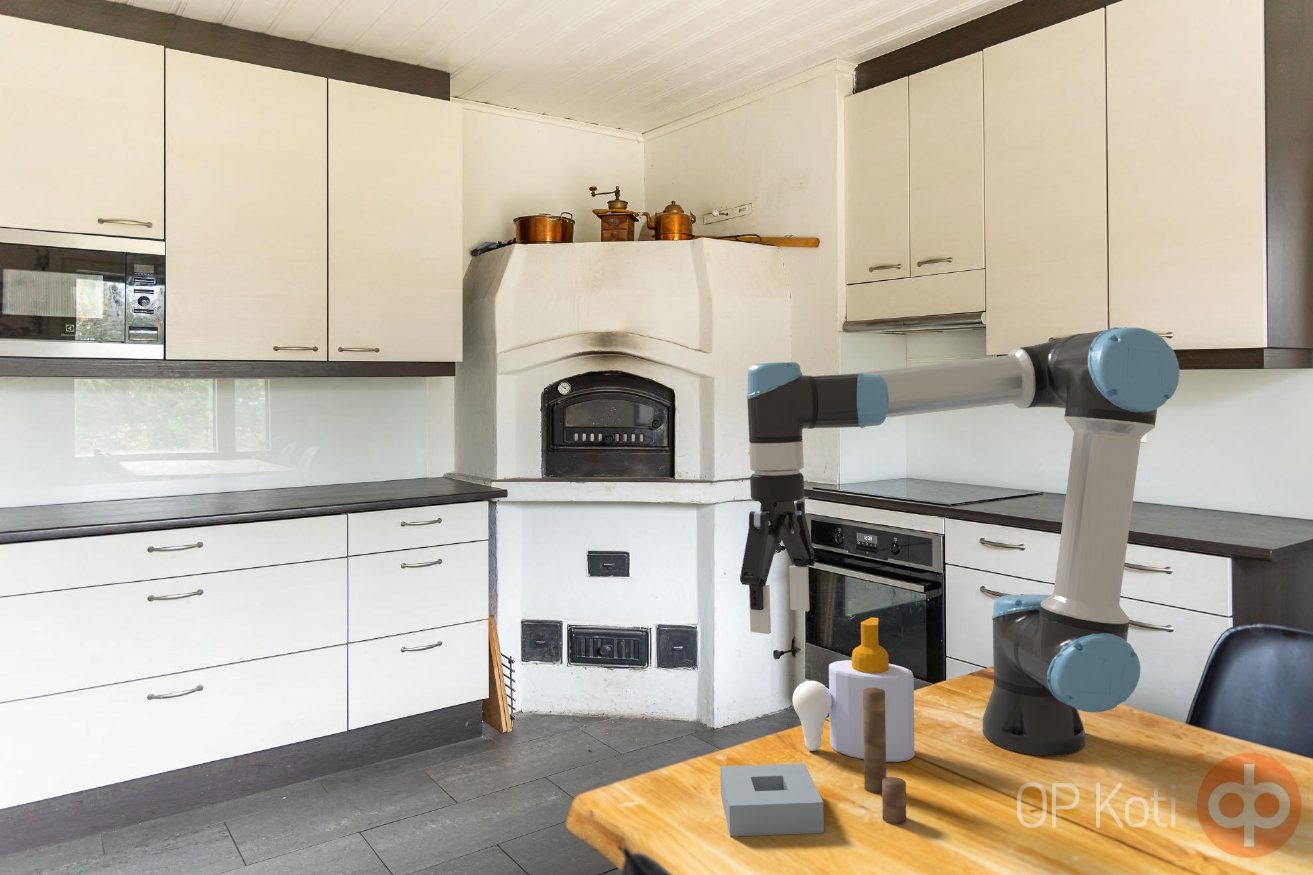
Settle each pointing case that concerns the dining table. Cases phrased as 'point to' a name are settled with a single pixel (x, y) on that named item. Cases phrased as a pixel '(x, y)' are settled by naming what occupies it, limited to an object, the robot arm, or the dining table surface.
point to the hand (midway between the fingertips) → (781, 620)
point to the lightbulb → (812, 711)
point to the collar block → (770, 800)
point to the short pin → (894, 800)
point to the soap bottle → (848, 698)
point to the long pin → (874, 739)
